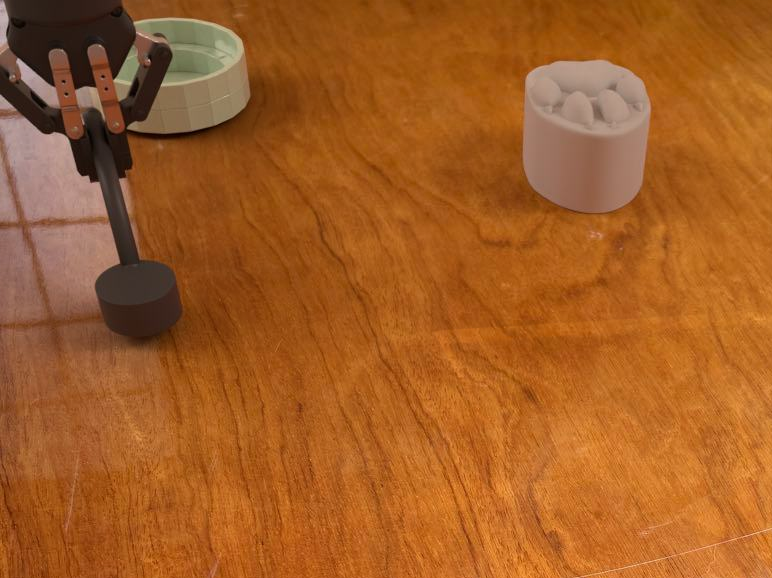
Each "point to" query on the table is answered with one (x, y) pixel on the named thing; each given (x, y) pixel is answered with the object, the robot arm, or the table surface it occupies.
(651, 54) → the table surface
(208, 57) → the bowl
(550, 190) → the lumpy-topped squat cylinder
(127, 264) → the ladle
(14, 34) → the robot arm
